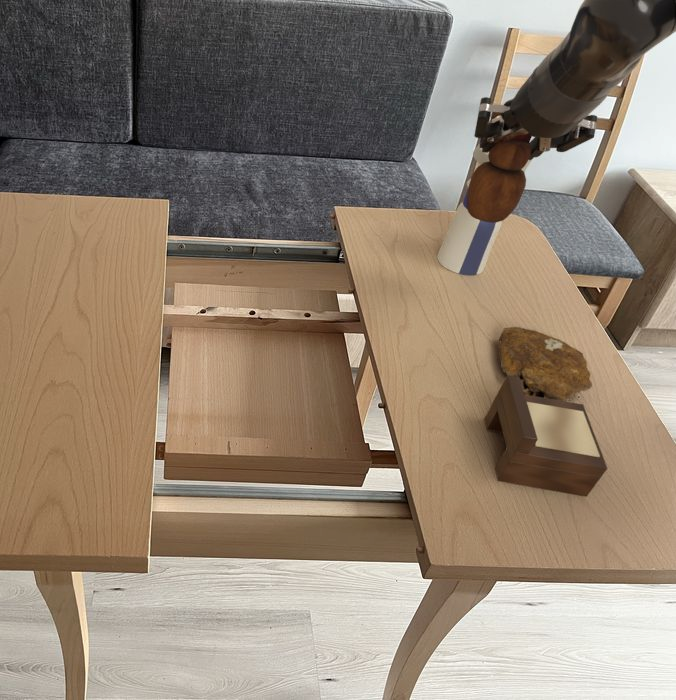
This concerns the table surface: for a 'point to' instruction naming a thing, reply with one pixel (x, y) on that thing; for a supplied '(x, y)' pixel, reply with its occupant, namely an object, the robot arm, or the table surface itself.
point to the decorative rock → (543, 364)
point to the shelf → (544, 441)
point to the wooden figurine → (499, 180)
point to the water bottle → (469, 235)
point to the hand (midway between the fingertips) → (507, 149)
